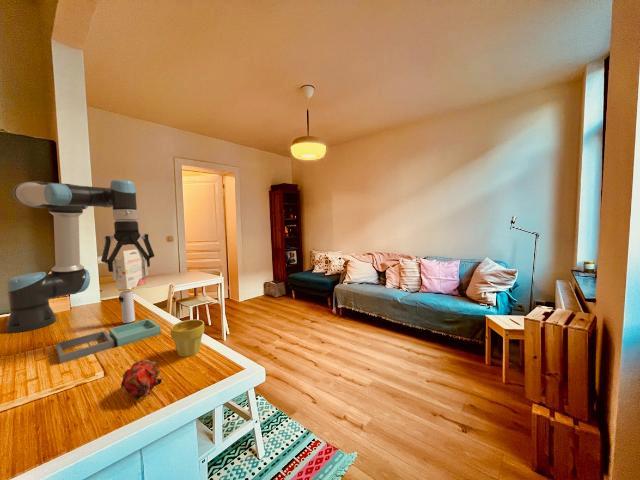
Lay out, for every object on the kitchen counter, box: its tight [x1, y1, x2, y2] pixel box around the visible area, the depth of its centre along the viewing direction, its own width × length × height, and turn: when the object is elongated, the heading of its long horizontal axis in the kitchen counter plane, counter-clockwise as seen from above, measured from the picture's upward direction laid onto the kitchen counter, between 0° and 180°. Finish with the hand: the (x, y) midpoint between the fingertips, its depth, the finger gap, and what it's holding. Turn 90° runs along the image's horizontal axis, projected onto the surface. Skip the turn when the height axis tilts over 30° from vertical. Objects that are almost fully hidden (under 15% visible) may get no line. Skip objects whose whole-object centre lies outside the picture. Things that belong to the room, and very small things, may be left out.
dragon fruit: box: [120, 358, 163, 400], centre depth 69 cm, size 8×8×12 cm
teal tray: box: [108, 318, 162, 348], centre depth 105 cm, size 14×14×3 cm
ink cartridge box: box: [113, 248, 147, 290], centre depth 103 cm, size 9×5×15 cm, turn 168°
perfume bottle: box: [117, 287, 136, 324], centre depth 118 cm, size 6×6×20 cm
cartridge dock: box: [55, 330, 115, 364], centre depth 94 cm, size 14×14×2 cm
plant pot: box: [170, 318, 205, 358], centre depth 90 cm, size 10×10×10 cm
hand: (130, 277), depth 103 cm, fingers closed on ink cartridge box, 10 cm apart
